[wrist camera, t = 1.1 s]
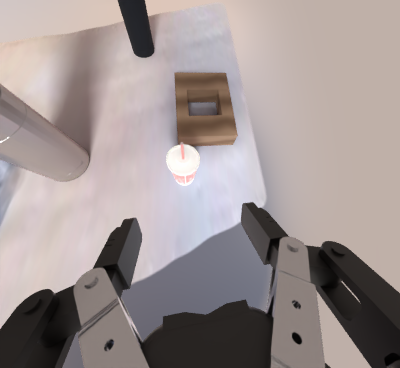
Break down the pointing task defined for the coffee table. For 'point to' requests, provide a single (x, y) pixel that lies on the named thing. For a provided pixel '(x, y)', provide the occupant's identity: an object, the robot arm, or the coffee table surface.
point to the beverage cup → (183, 163)
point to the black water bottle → (137, 26)
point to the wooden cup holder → (207, 124)
